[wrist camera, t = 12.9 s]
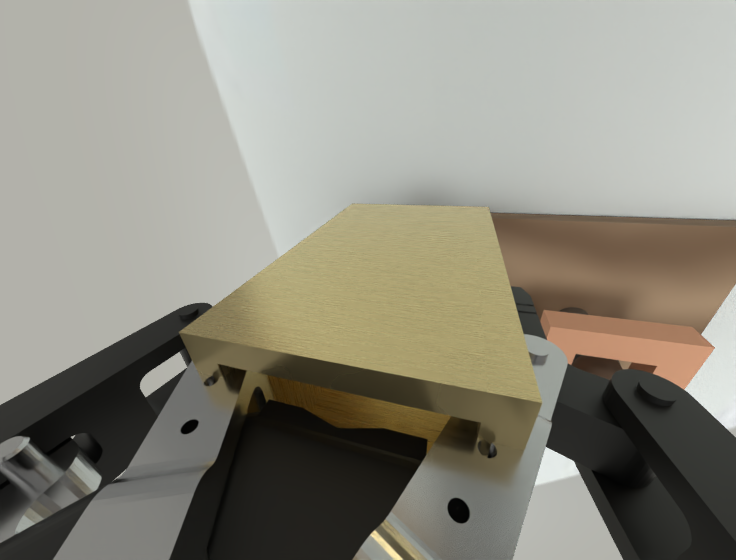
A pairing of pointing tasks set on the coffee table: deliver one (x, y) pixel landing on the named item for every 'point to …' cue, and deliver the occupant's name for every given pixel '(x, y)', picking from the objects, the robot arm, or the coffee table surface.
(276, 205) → the coffee table surface
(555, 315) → the orange square ring
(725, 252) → the post stand
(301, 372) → the sleeve
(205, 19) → the coffee table surface
